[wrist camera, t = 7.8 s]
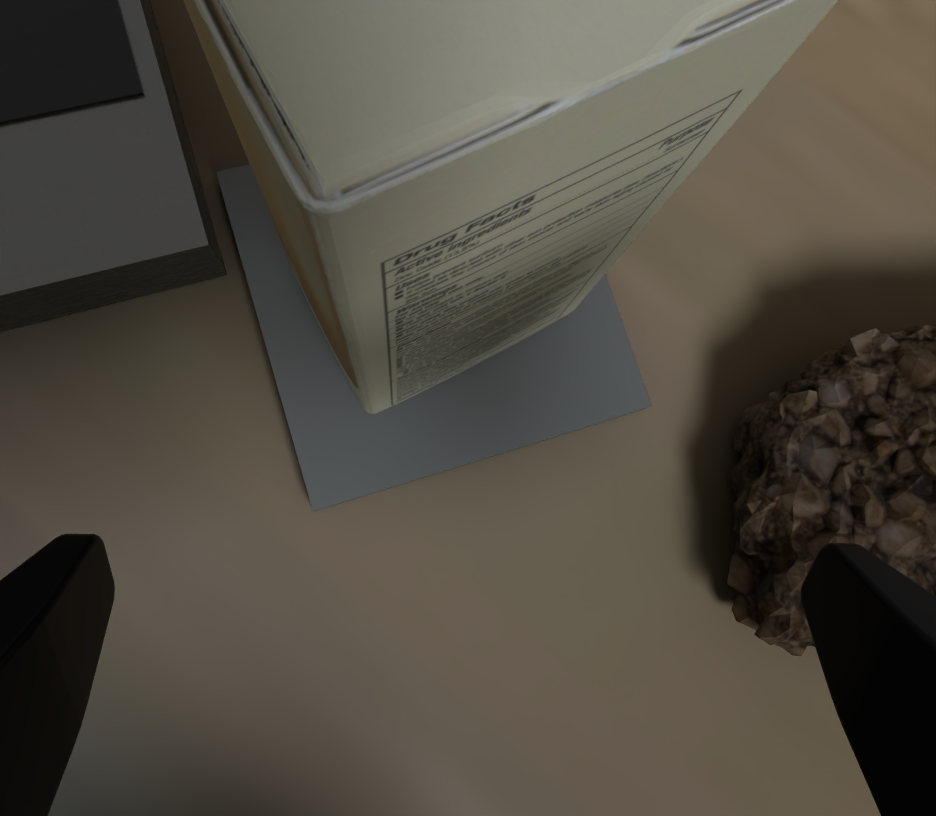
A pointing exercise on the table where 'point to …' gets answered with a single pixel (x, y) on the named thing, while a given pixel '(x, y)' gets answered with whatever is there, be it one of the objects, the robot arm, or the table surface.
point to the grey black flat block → (93, 163)
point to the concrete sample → (835, 476)
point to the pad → (436, 409)
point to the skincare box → (475, 152)
